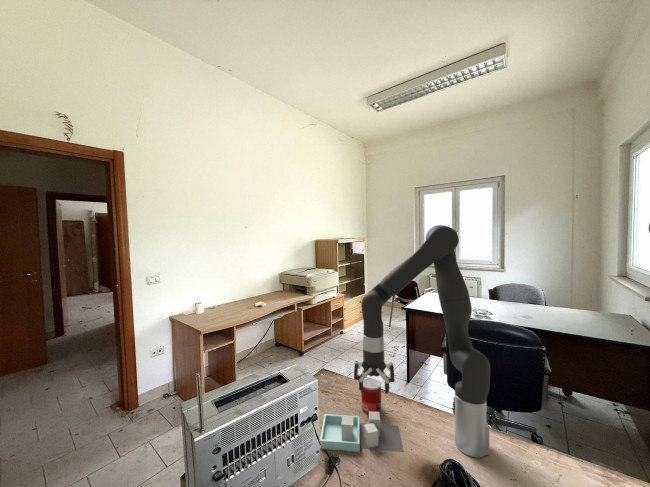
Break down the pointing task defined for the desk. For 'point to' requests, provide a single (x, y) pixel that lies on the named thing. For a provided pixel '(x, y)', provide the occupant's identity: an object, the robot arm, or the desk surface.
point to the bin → (338, 434)
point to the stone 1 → (347, 429)
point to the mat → (385, 439)
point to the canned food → (371, 395)
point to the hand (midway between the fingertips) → (374, 391)
